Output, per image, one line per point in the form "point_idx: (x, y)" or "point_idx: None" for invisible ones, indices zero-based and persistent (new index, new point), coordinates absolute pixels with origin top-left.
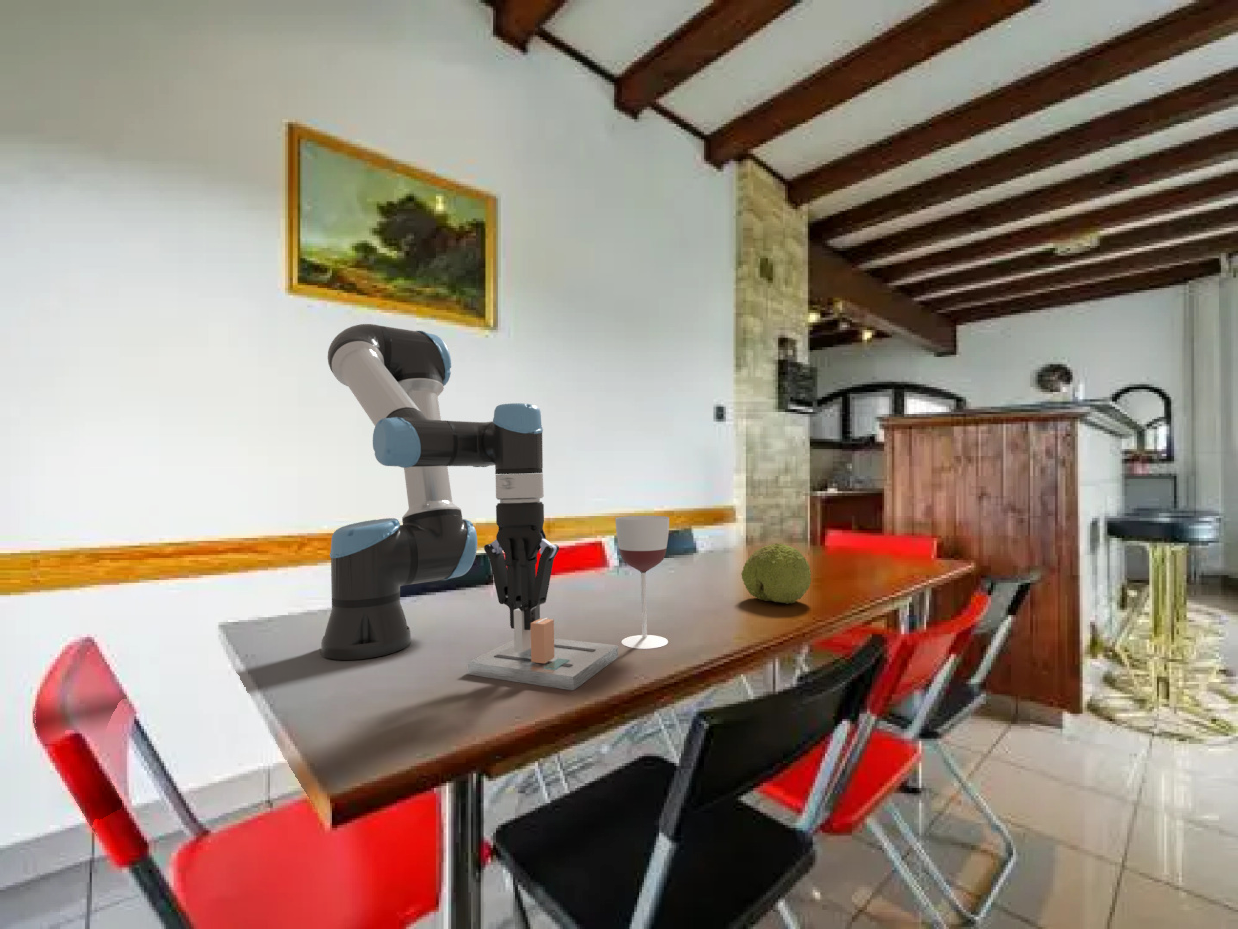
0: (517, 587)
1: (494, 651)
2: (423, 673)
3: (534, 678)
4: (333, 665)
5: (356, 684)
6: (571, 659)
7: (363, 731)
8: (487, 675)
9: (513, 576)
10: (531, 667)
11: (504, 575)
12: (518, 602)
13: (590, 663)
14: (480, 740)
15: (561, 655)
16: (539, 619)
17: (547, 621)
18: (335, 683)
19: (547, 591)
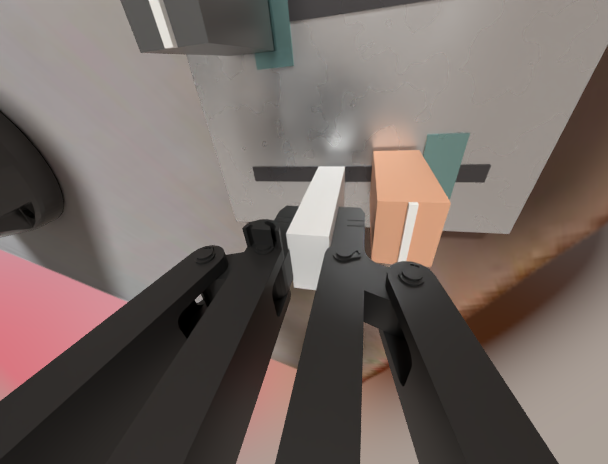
0: (260, 355)
1: (225, 145)
2: (184, 223)
3: None
4: (70, 233)
5: (164, 271)
6: (474, 121)
7: (285, 340)
8: None
9: (234, 460)
10: None
11: (116, 400)
12: (283, 280)
13: (556, 132)
14: None
15: (425, 98)
16: (381, 217)
17: (430, 233)
18: (144, 273)
19: (469, 333)
